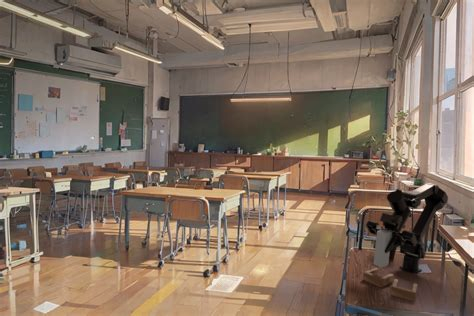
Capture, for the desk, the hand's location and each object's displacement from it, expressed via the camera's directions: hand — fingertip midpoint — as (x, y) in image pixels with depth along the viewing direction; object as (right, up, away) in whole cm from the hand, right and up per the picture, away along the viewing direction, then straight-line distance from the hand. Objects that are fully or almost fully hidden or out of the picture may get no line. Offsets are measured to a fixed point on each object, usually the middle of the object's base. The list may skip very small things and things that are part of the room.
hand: (380, 250), depth 146 cm
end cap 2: (+6, -14, -7) cm, 17 cm away
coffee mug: (+14, -11, +33) cm, 37 cm away
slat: (+1, -6, +2) cm, 6 cm away
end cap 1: (0, -13, +2) cm, 13 cm away
